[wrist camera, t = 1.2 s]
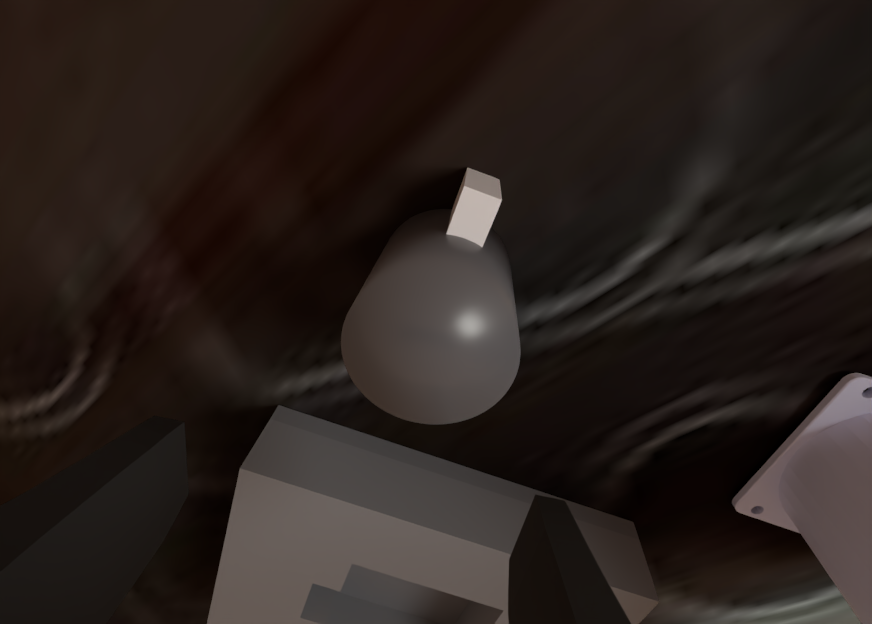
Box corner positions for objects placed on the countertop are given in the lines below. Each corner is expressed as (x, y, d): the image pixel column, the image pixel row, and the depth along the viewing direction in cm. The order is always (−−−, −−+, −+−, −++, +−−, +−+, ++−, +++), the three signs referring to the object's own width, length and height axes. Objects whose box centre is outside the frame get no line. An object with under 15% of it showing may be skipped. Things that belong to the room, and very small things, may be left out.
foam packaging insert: (633, 522, 24) (659, 601, 20) (518, 666, 30) (522, 746, 27) (278, 404, 23) (240, 468, 19) (235, 581, 29) (200, 653, 25)
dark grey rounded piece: (481, 345, 20) (480, 444, 15) (366, 305, 20) (323, 392, 14) (549, 198, 17) (578, 256, 12) (416, 148, 17) (384, 185, 12)
